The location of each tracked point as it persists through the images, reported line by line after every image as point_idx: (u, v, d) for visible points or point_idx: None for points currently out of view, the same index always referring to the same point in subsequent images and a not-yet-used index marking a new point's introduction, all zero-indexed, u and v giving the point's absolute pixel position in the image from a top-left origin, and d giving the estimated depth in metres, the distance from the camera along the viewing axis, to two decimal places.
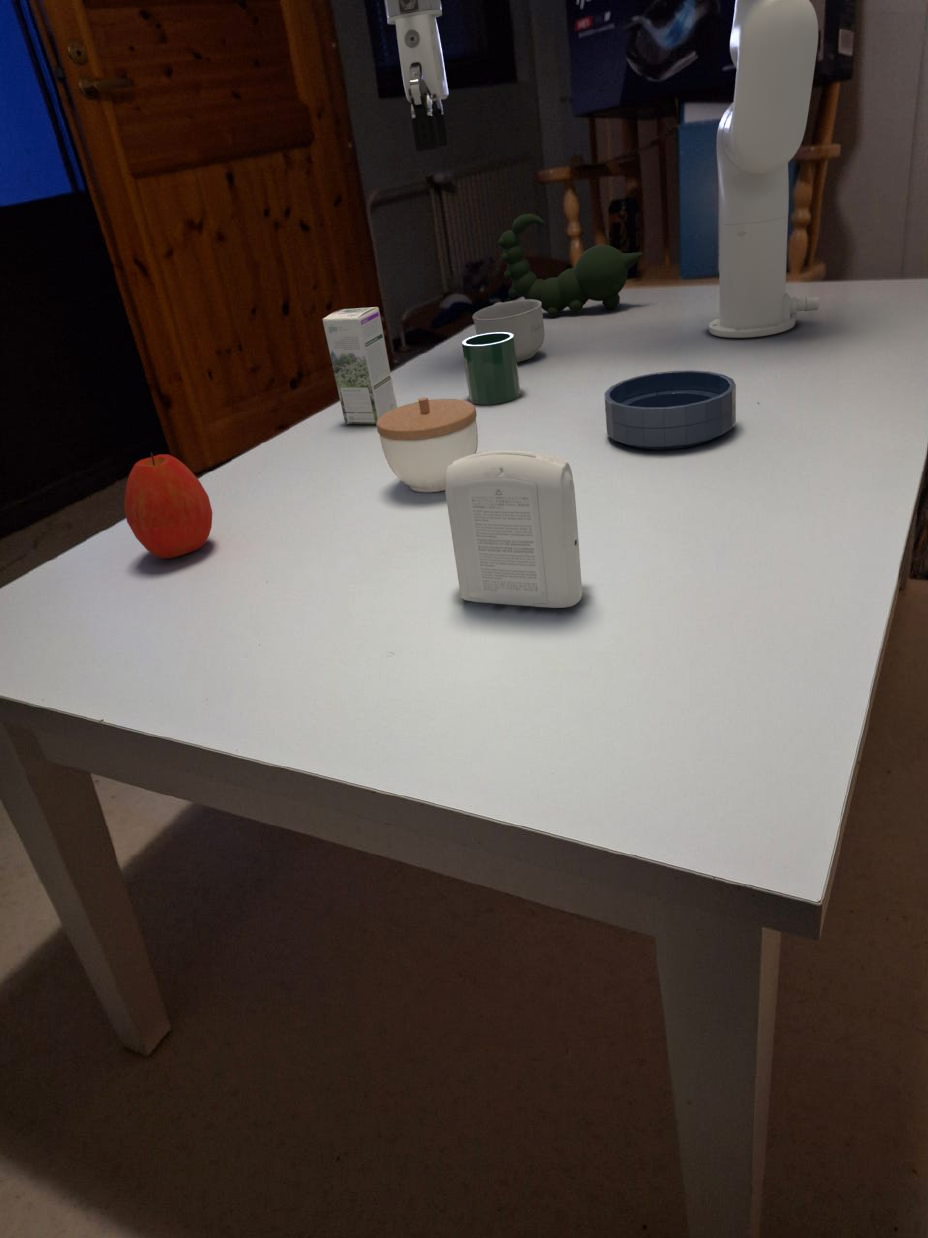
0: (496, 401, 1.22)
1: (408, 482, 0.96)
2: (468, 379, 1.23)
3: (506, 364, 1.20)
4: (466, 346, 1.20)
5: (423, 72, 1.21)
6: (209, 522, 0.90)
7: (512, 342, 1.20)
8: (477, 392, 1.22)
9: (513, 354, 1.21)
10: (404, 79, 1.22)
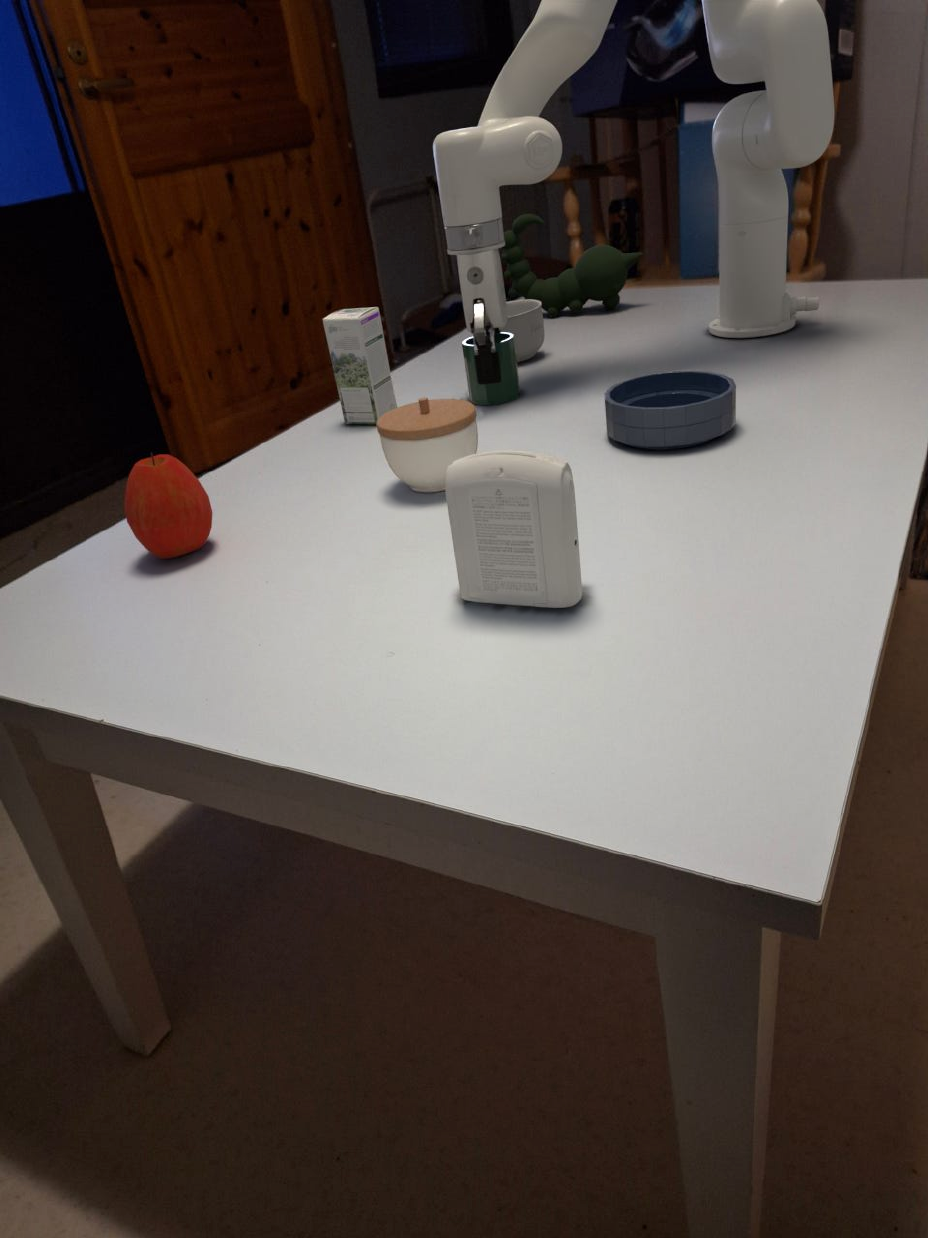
0: (496, 401, 1.22)
1: (408, 482, 0.96)
2: (468, 379, 1.23)
3: (506, 364, 1.20)
4: (466, 346, 1.20)
5: (486, 308, 1.14)
6: (209, 522, 0.90)
7: (512, 342, 1.20)
8: (477, 392, 1.22)
9: (513, 354, 1.21)
10: (465, 313, 1.15)
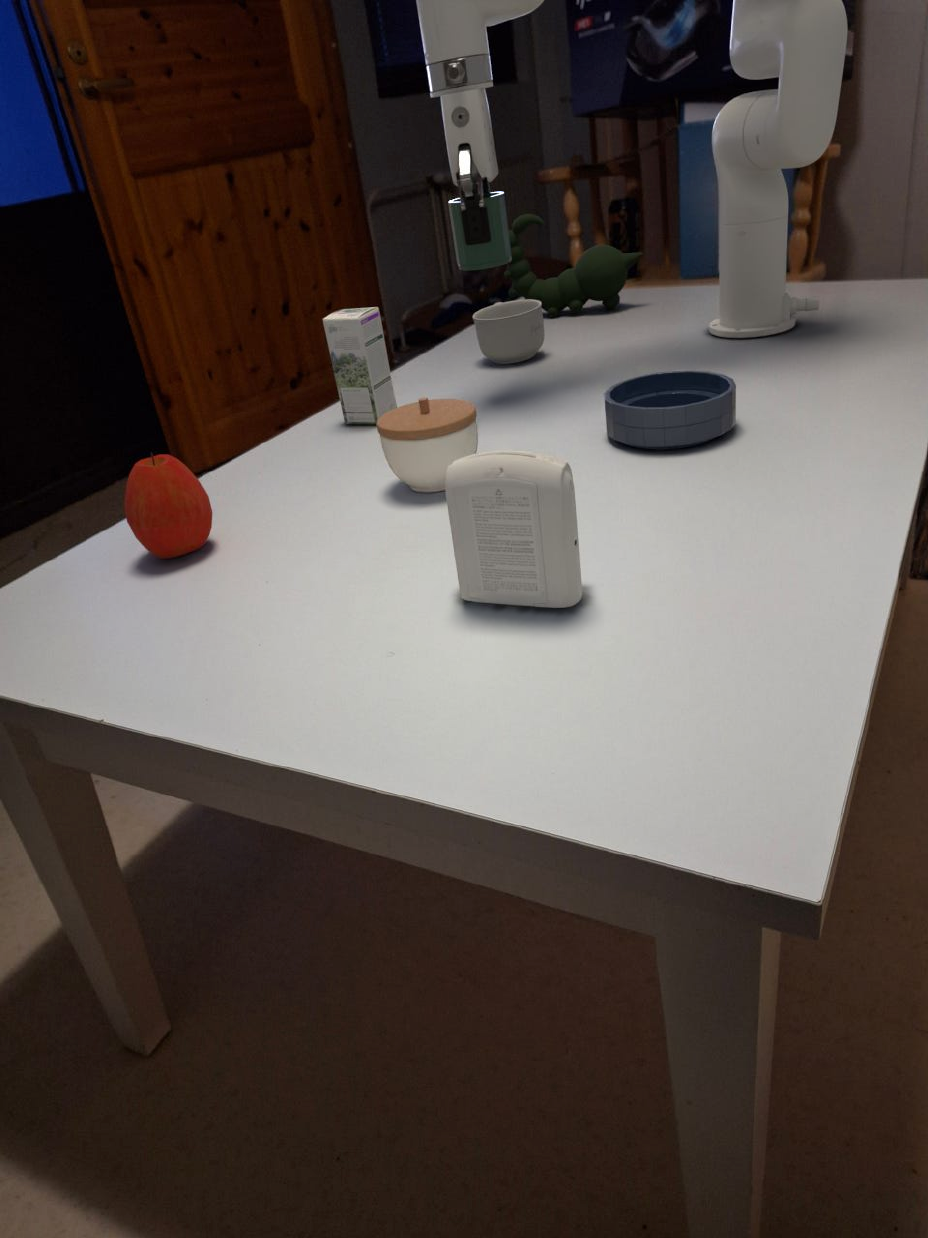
0: (486, 265, 1.13)
1: (408, 482, 0.96)
2: (455, 243, 1.14)
3: (495, 222, 1.11)
4: (452, 203, 1.11)
5: (473, 154, 1.05)
6: (209, 522, 0.90)
7: (502, 199, 1.11)
8: (465, 256, 1.13)
9: (503, 212, 1.12)
10: (451, 162, 1.06)
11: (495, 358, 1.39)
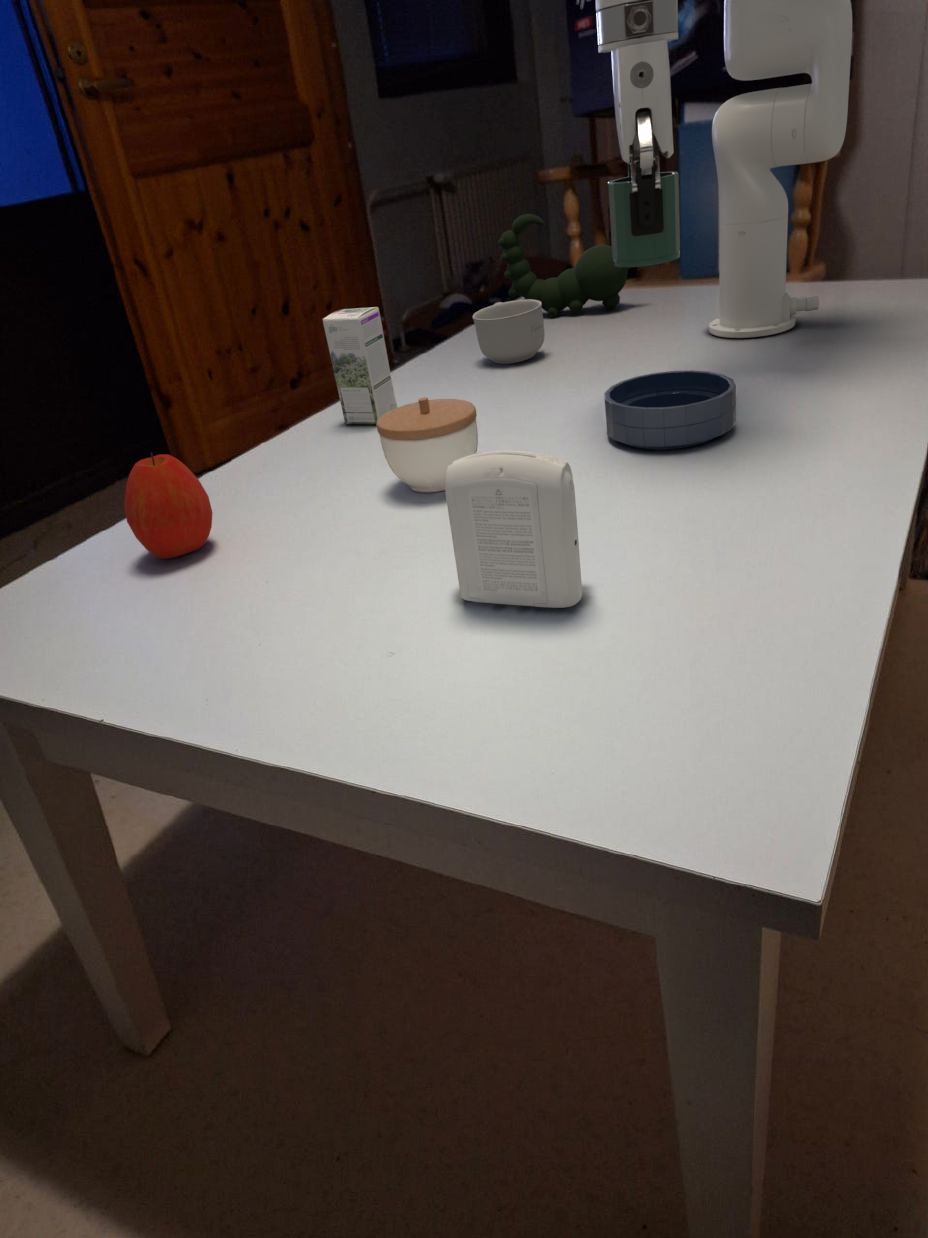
0: (652, 261, 0.92)
1: (408, 482, 0.96)
2: (614, 233, 0.93)
3: (669, 208, 0.90)
4: (616, 184, 0.90)
5: (653, 122, 0.84)
6: (209, 522, 0.90)
7: (677, 179, 0.90)
8: (627, 249, 0.92)
9: (677, 197, 0.91)
10: (624, 131, 0.85)
11: (495, 358, 1.39)
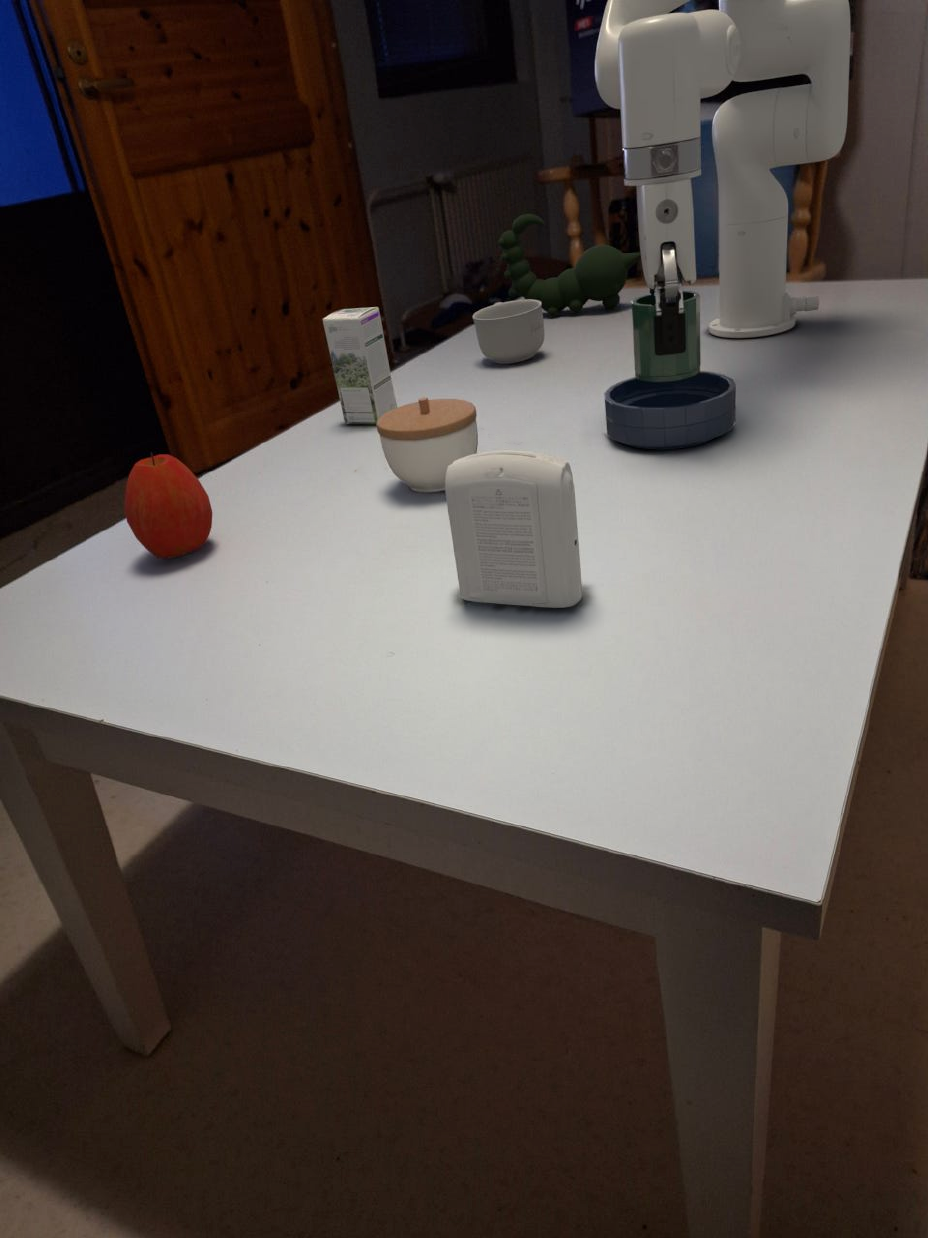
0: (674, 377, 0.96)
1: (408, 482, 0.96)
2: (637, 350, 0.97)
3: (690, 329, 0.94)
4: (640, 306, 0.94)
5: (678, 254, 0.88)
6: (209, 522, 0.90)
7: (698, 302, 0.94)
8: (650, 366, 0.96)
9: (698, 317, 0.95)
10: (649, 262, 0.89)
11: (495, 358, 1.39)
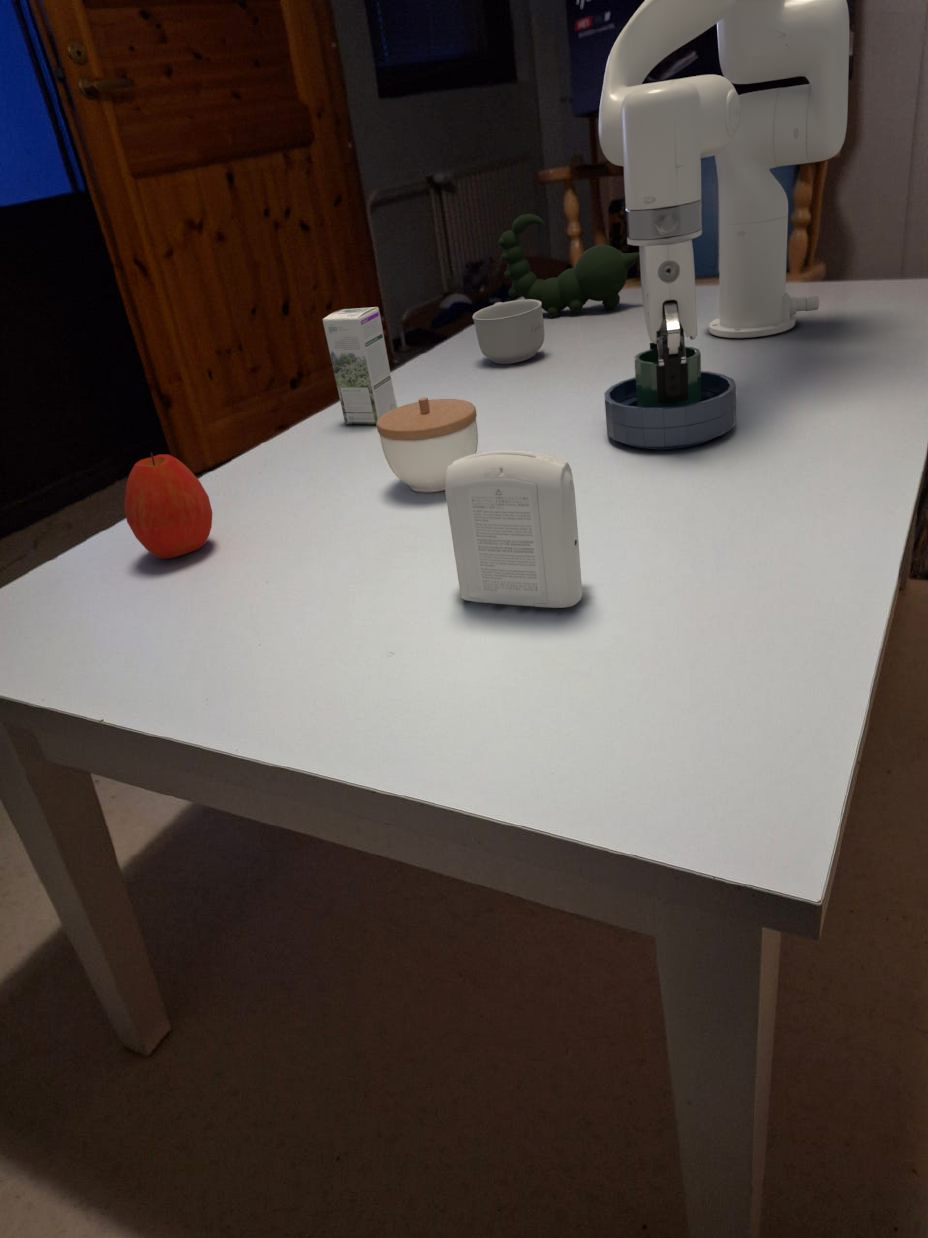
0: None
1: (408, 482, 0.96)
2: (640, 404, 1.00)
3: (692, 385, 0.97)
4: (643, 364, 0.97)
5: (679, 312, 0.91)
6: (209, 522, 0.90)
7: (699, 359, 0.97)
8: None
9: (699, 373, 0.98)
10: (652, 319, 0.92)
11: (495, 358, 1.39)
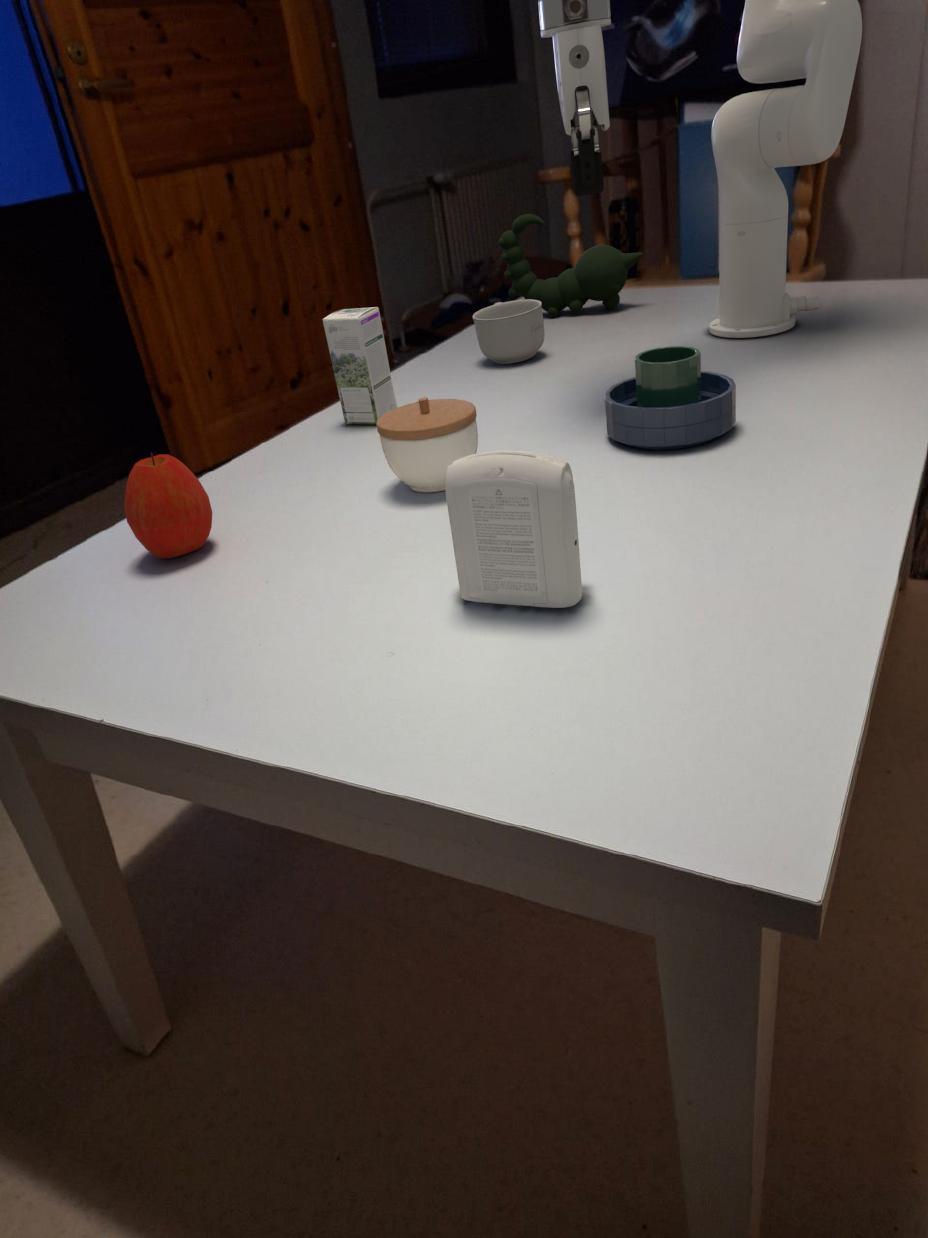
0: None
1: (408, 482, 0.96)
2: (640, 404, 1.00)
3: (692, 385, 0.97)
4: (643, 364, 0.97)
5: (591, 98, 0.96)
6: (209, 522, 0.90)
7: (699, 359, 0.97)
8: None
9: (699, 373, 0.98)
10: (565, 107, 0.96)
11: (495, 358, 1.39)
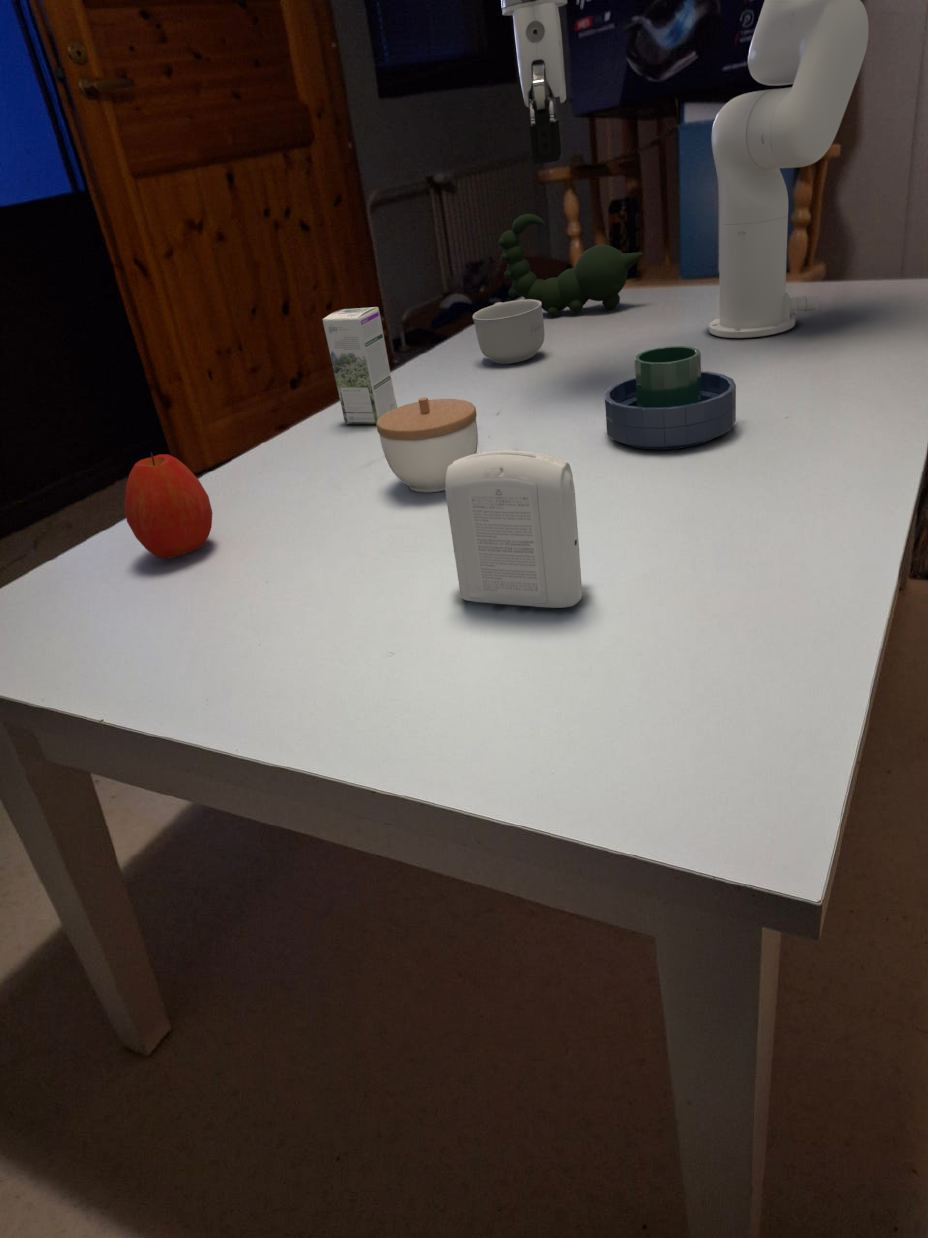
0: None
1: (408, 482, 0.96)
2: (640, 404, 1.00)
3: (692, 385, 0.97)
4: (643, 364, 0.97)
5: (546, 71, 1.02)
6: (209, 522, 0.90)
7: (699, 359, 0.97)
8: None
9: (699, 373, 0.98)
10: (523, 80, 1.03)
11: (495, 358, 1.39)
